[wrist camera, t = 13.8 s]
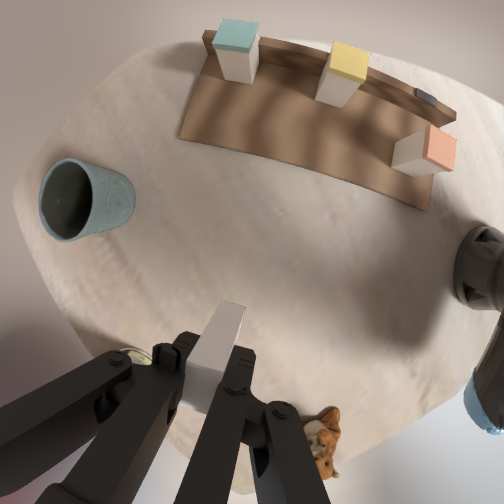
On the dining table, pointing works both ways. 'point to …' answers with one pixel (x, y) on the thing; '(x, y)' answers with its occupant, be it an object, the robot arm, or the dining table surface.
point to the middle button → (342, 74)
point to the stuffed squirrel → (324, 441)
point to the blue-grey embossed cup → (83, 200)
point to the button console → (314, 119)
